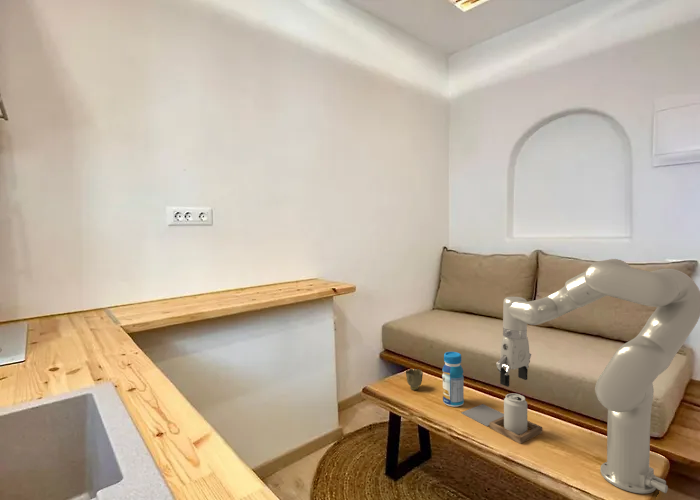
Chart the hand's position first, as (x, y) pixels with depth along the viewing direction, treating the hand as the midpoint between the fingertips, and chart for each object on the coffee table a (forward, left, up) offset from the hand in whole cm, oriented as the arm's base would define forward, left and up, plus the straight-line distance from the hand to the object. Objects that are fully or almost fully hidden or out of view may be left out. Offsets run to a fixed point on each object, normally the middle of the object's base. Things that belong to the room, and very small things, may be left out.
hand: (513, 381), depth 133 cm
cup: (+45, +6, -17) cm, 49 cm away
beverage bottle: (+26, +2, -17) cm, 32 cm away
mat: (+12, 0, -17) cm, 21 cm away
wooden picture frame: (-1, 0, -17) cm, 17 cm away
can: (-1, 0, -17) cm, 17 cm away
